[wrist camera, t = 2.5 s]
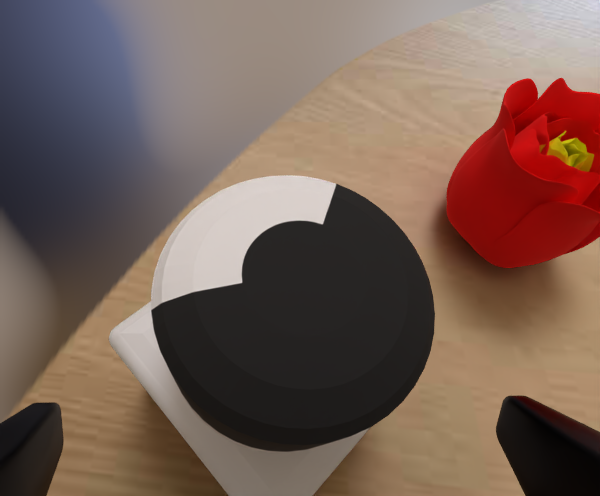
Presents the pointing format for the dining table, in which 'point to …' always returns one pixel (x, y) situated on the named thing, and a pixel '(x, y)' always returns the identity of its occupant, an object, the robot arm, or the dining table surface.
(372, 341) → the medicine bottle
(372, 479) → the dining table surface
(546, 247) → the flower
